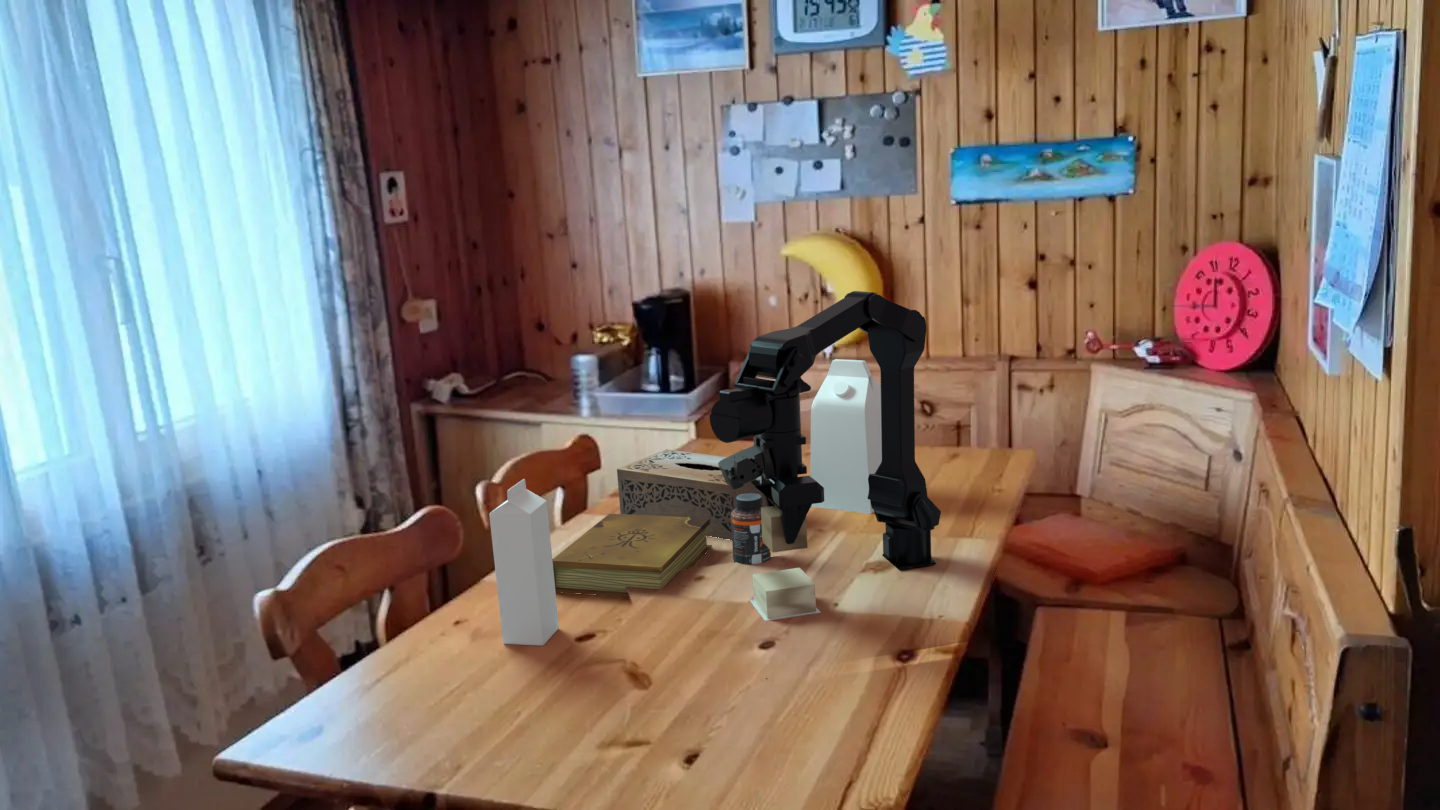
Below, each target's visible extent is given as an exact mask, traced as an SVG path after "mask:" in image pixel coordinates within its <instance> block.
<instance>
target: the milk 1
mask: <svg viewBox="0 0 1440 810" xmlns="http://www.w3.org/2000/svg"><path fill="white" fill-rule="evenodd" d="M506 498H507V500H505V501H504V502H503V503H501V504H499V506H497V507H496V508H494V509H493V510H492V511H490V512H489V514H488V515H489V525H490V534H491V543H492V551H493V561H494V569H495V571H494V572H495V579H496V588H497V589H496V591H497V600H498V608H499V617H500V626H501V636H502V644H504V645H520V646H521V645H522V646H524V645H525V646H544V645H545V644H546V643H547V642H548V641H549V639H551V638H552V636H553V635H554V634H555V633H556V632H557V631H558V630H559V629H560V626H559V625H560V624H559V613H558V605H557V604H558V603H557V593H556V592H555V581H554V571H553V561H552V559H553V552H552V543H551V542H552V541H551V531H550V520H549V519H550V518H549V511H548V510H549V509H548V501H547V500H546V499H544V498H543V497H541V496H539V495H538V494H537V493H536V494H535V493H534V492H533V491H531V490H529V489H527V484H526V479H525V478H523V479H521V480H520V481H518V482H517V483H516V484H514V485H513V486H511V487H510V488H509V489H507V491H506Z"/></svg>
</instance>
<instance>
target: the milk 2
mask: <svg viewBox="0 0 1440 810" xmlns="http://www.w3.org/2000/svg"><path fill="white" fill-rule="evenodd" d="M830 363H831V364H830V366H829V369H828V372H827V375H826V377H825V378H824V381H822V384H821V386H820V388H819V389H818V391H817V393H816V395H815V397H814V399H813V401H812V404H811V407H810V452H809V453H810V457H809V458H810V464H809V467H810V468H809V471H810V472H809V473H810V474H809V476H810V477H812V478H813V479H814V480H815V481H817V482H818V483H819V484H820V485H821V486H823V487H824V502H822V503H816V504H812V506H811V508H812V507H813V508H820V509H827V510H834V511H835V510H837V511H843V512H849V513H859V514H868V515H872V514H873V513H875V512H874V509H872V507H871V502H870V500H869V499H868V494H869V483H868V477H869V474H873V473H875V472H876V470H877V469H878V467H879V465H880V464H881V461H882V441H881V384H879V383H878V382H877V380H876V379H875V378H874V377H873V376H872V372H871V371H870V369H869V366H868V364H867V361H866V360H861V359H860V360H859V359H844V358H843V359H841V358H840V359H839V358H835V359H833V360H832V361H831V362H830Z"/></svg>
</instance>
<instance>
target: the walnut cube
mask: <svg viewBox="0 0 1440 810" xmlns="http://www.w3.org/2000/svg"><path fill="white" fill-rule="evenodd" d="M761 521H762V542H763V543H764V544H765V545H766V546H767V547H768V548H769V549H770V552H771V553H779V552H780V553H781V552H786V551H795V550H801V549H808V529H807V528H808V527H807V525H808V523H807V517H806V518H805V520H804V522H803V524H802V526H801V529H800V531H799V533H798V535H797V538H796V540H795V542H794V543H793V544H787V543H786V541H785V537H784V532H783V527H782V522H781V517H780V512H779V508H777V507H776V506H768V507H761Z"/></svg>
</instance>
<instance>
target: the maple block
mask: <svg viewBox="0 0 1440 810" xmlns="http://www.w3.org/2000/svg"><path fill="white" fill-rule="evenodd" d="M752 585H753V586H752V591H753V600H754V602H755V603H756V604H757V606H758V607H759V608H760V610H761V611H762V612H763V614H764V615H765V616H766V618H767V619H770V618H777V617H783V616H790V615H796V614H803V613H809V612H816V607H817V603H816V602H817V599H816V597H817V596H816V584H815V583H814V582H813V580H812V579H811V578H810V577H809V575H807V574H806V573H805V572H804V570H802V568H801V567H795V568H788V569H787V568H786V569H781V570H774V571H766V572H761V573H760V572H759V573H753V574H752Z"/></svg>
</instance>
